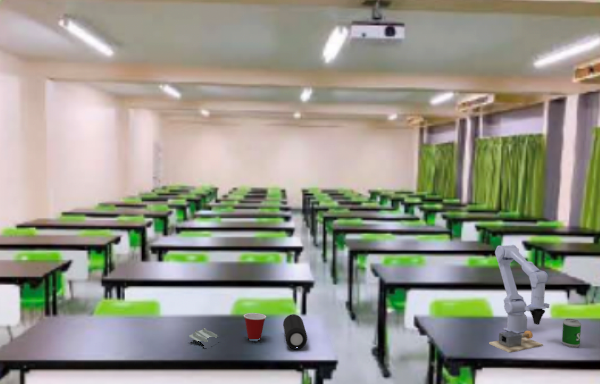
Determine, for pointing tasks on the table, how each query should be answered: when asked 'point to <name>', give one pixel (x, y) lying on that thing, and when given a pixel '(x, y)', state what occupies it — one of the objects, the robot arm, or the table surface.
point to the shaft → (527, 334)
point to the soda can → (571, 333)
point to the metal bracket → (202, 335)
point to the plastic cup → (254, 324)
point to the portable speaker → (294, 331)
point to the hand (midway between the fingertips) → (536, 323)
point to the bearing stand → (514, 342)
